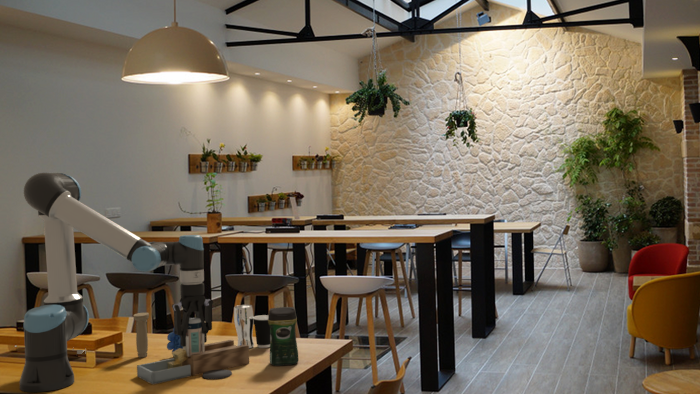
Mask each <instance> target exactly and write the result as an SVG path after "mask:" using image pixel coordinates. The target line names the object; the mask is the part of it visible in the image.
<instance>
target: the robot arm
mask: <svg viewBox="0 0 700 394" xmlns="http://www.w3.org/2000/svg"><path fill="white" fill-rule="evenodd" d="M23 196H24V197H23V198H24V199H25V201H26V203H27V204H28V205H29V206H30V207H31V208H33V209H34V210H36V211H37V214H38V217H39V218H40V219H41V220H42V221H43V228H44V243H45V244H44V245H45V257H46V276H47V277H46V278H47V291H48V292H47V293H48V295H47V296H46V297H45V298H44V300H43V305H40V306H36V307H33V308H31V309H28V310H27V311H26V313H25V314H24V316H23V334H24V361H25V362H24V366H23V370H22V372H21V375H20V379H19V390H20V391H22V392H24V393H25V392H26V393H40V392H41V393H44V392H51V391H55V390H60V389H64V388H67V387H69V386H72V385H73V384H74V383H75V372H74V370H73V368H72V366H71V363H70V360H69V358H68V341H70V340H73V339H75V338H78V336H81V334H82V333H83V332H84V331H85V330H86V329H87V327H88V324H89V321H90V313H89V310H88V308H87V307H86V306H85V304H84V298H83V295H81V294H80V293H79V291H78V283H77V267H76V252H75V250H76V249H75V237H74V235H75V234H74V229H75V230H77V231H78V232H80V233H82V234H84V235H86V236H87V237H89V238H90V239H92V240H94V241H95V242H97V243H99V244H100V245H102V246H103V247H105V248H107V249H109V250H110V251H112V252H114V253H115V254H118V255H119V256H121V257H122V258H123V259H125V260H128V262H130V263H131V264H132V266H133V267H134V268H135V270H137V271H140V272H151V271H154V270H156V269H157V268H160V267H162V266H177V265H178V266H179V282H180V288H179V289H180V299H179V302H177V303H174V304H172V305H171V308H172V311H173V328H174V332H173V333H174V334H176V335H179V336H180V341H181V342H180V343H181V346H183V349H184V350H185V351H186V353H187V356H188V357H189V336H186V334H187V329H188V324H189V319H190V318H191V315H192V313H195V316H196V318H200V320H201V327H202V353H205V344H206V343H207V341H208V340H207V339H208V338H207V335H208V333H209V331H212V330H213V317H212V316H213V315H212V314H213V312H212V307H213V304H214V301H213V300H211V299H210V298H206V297H205V283H204V281H205V271H204V268H205V267H204V264H205V263H204V250H205V248H204V243H203V240H204V239H203V237H202V236H201V235H200V234H184V235H179V237H178V240H177V241H150V242H148V241H147V240H144V239H142V238H141V237H140V236H138V235H137V234H135V233H133V232H131V231H129V229H126V228H124V227H123V226H122V225H119V224H118V223H116V222H114V221H112V220H111V219H109V218H107V216H104V215H103V214H101V213H99V212H98V211H97V210H94V209H93V208H91V207H90V206H88V205H86V204H84V203H83V202H81V201H80V200H81V197H82V187H81V185H80V183H79V182H78V180H76V178H74V177H73V176H71V175H68V174H66V173H64V172H63V173H62V172H53V173H52V172H39V173H36V174H34V175H31V176H30V177H29V178H28V179H27V180H26V182H25V184H24V185H23ZM203 305H204V311H203ZM182 308H183V311H182V312H181V309H182ZM203 313H204V314H203ZM181 314H182V315H183V316H182V315H181ZM181 316H182V317H181Z"/></svg>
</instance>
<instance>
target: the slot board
mask: <svg viewBox="0 0 700 394" xmlns="http://www.w3.org/2000/svg"><path fill="white" fill-rule="evenodd" d="M204 344H205V353H200V354H195V355H190V356H191V357H188V359H187V360H185V361H183V362H182V366H184V365H190V366H191V376H197V375H203V373H204V372H207V371H210V370H217V369H225V370H227V369H231V368H235V367H240V366H243V365H247V364H250V348H249V345H241V346H237V345H235V340H233V339H227V340H223V341H222V340H221V341H218V342H217V341H216V342H212V343H207V344H206V343H204Z"/></svg>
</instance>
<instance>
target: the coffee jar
mask: <svg viewBox="0 0 700 394" xmlns="http://www.w3.org/2000/svg"><path fill="white" fill-rule="evenodd" d="M296 312H297V311H296V308H295V307H294V306H292V307H291V306H285V307H284V306H283V307H281V306H280V307H272V308H269V311H268V315H269V316H268V323H269V326H270V347H269V364H270V365H272V366H274V367H275V366H278V367H280V366H292V365H295V364H297V363H299V349H298V342H297V334H296V324H297V322H298V321H297V320H298V317H297V313H296Z"/></svg>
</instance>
